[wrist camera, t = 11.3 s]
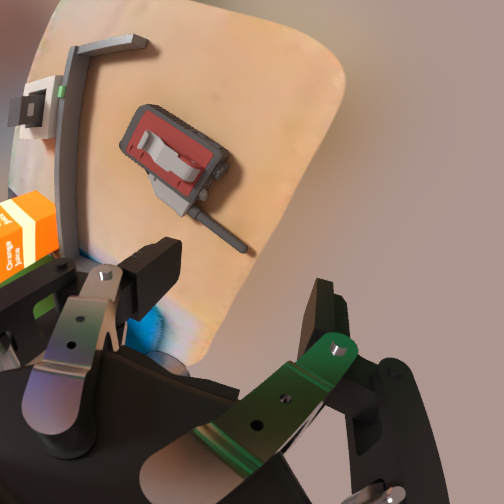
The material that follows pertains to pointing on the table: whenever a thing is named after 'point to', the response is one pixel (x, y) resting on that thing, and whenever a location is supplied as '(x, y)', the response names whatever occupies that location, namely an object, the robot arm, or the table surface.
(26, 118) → the plug
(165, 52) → the table surface
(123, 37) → the cradle
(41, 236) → the orange juice
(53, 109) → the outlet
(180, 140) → the walkie-talkie
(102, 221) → the table surface
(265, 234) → the table surface
